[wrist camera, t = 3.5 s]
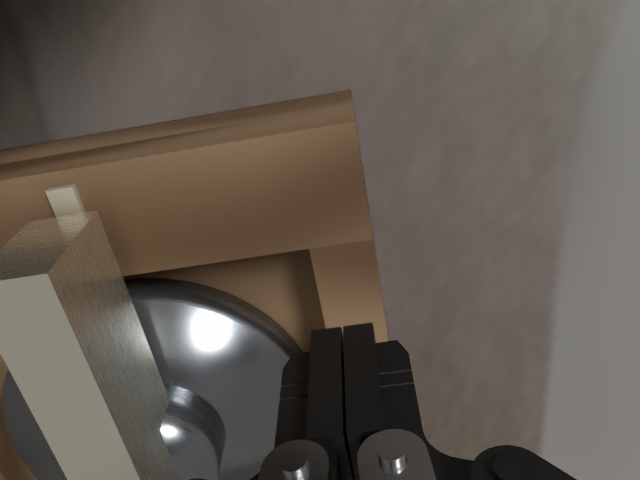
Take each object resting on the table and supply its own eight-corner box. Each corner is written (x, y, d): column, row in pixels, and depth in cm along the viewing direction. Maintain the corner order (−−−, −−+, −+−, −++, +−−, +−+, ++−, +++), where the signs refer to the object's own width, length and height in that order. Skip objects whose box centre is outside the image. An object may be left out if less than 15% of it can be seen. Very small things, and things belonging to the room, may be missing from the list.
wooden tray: (-146, 175, 18) (-233, 221, 15) (350, 89, 17) (355, 124, 14) (70, 551, 27) (39, 625, 24) (414, 514, 25) (426, 589, 22)
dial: (341, 489, 22) (345, 625, 18) (82, 518, 23) (27, 654, 19) (266, 158, 16) (244, 243, 12) (-81, 215, 17) (-217, 313, 13)
